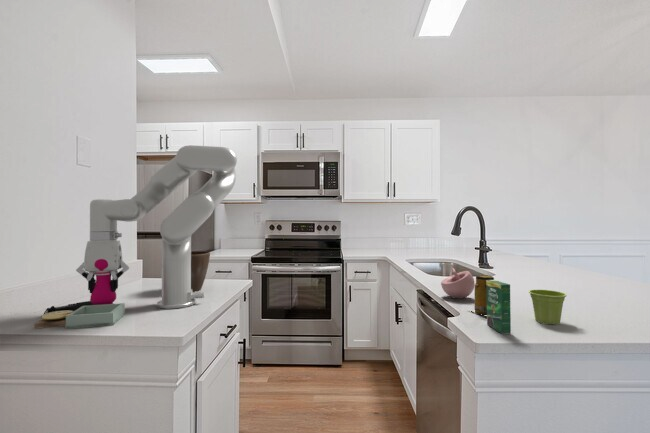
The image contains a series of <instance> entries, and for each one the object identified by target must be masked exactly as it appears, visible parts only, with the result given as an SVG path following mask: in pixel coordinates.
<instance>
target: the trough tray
mask: <svg viewBox="0 0 650 433" xmlns="http://www.w3.org/2000/svg"><path fill="white" fill-rule="evenodd" d="M125 313H126V309H125V302H123V303H113V304H105V305H89V306H82V307H80V308H79V309H77V310H75V311H73V312H72V313H70V314H69V315H67V316H66V326H65V330H69V329H70V330H71V329H82V328H95V327H108V326H109V327H110V326H114V325H115V324H116V323H117V322H118V321H119V320H120V319H121V318H122V317H123V316H124V315H125Z"/></svg>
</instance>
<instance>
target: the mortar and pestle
mask: <svg viewBox="0 0 650 433" xmlns="http://www.w3.org/2000/svg"><path fill="white" fill-rule="evenodd" d="M451 272H452V275H450V276H447V277H445V278H444V279H443V280H441V282H440V285H441V288H442V290H443V291H444V293H445V294H446V295H447V296H449V297H451V298H454V299H457V298H461V299H465V298H467V297H469V296H470V295H471V294H472V293H473V291H474V290H475V289H474V288H475V284H476V282H475V278H474V276H473V275H472V273H471V272H470V271H468V270H463V271H460V272H457V271H456V269H455V268H454V267H452V268H451Z"/></svg>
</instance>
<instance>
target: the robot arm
mask: <svg viewBox="0 0 650 433" xmlns="http://www.w3.org/2000/svg"><path fill="white" fill-rule="evenodd" d="M237 162H238V159H237V155H236V154H235V152H234V151H233V150H232V149H230V148H229V147H224V146H209V145H189V144H188V145H184V146H182V147H181V148H179V149H178V150H177V152H176V155H175V156H174V157H173V158H171V159H170V161H168V162H167V163H166V164H164V165H163V166H162V167H161V168H159V169H158V170H157V171H155V173H153V174H152V176H151V177H150V178H149V181H148V182H147V183H146V185H145V186H144V187H143V188H142V189H141V190H139V191H138V193H136V194H135V195H134V196H133V197H132V198H128V199H127V198H126V199H116V200H115V199H114V200H112V199H99V198H98V199H92V200H91V201H90V203H89V240H88V241H87V243H86V246H85V250H84V259H83V260H84V261H83V262H82V263H81V265H79V266H78V268H76V270H75V271H76V272H77V273H78V274H79V275H81V276H82V277H83V278H85V279H86V281H87V283H88V284H87V290H88V291H89V294H91V293H92V292H93V289H94V287H95V284H96V278H95V277H96V275H95V272H96V271H100V270H99V269H97V268H96V267H95V266H94V264H95V262H96V261H97V260H98V259H105V260H106V261H107V262H108V267H107V268H105V269H104V270H103V271H110V272H111V291H112V292H114V291H115V292H117V290H118V288H119V278H120V277H122V275H124V274H125V273H126V272H127V271H128V270H129V269H130V267H129V266H128V264H126V262H125V261H123V252H122V244H121V241H120V240H118V238H122V236H123V234H122V232H118V221H120V222H125V223H126V222H129V223H130V222H137V221H139V220H141V219H142V218H144V217H145V216H146V215H147V214H148V213H150V212H151V211H152V210H153V209H154V208H156V206H158V205H159V204H160V203H161V202H162V201H164V200H165V199H166V198H168V197H169V196H170V195H171V194H172V193H173V192H174V191H176V190H177V189H178V188H180V186H181V185H182V184H184V183H185V182H186V181H187V180H189V178H191V177H192V176H193V175H195V174H196V173H197V172H198V171H208V172H212V176H211V177H210V178H209V179H208V181H206V182H205V184H203V186H201V187H200V188H199V189H198V190H197V191H196V192H194V193H191V194H190V195H189V196H188V197H186V198H185V199H184V200H183V201H182V202H181V203H180V204H179V205H178V206H177V207H176V208H175V209H174V210H172V212H171V213H170V214H168V215H167V216H166V218H165V219H163V220H162V222H161V224H160V227H159V233H160V236H161V299H160V300H159V301H157V302H156V307H157V308H159V309H165V310H166V309H167V310H169V309H170V310H171V309H180V308H186V307H187V308H188V307H190V306H193V305H195V304H196V299H204V298H205V292H201V291H197V292H192V289H191V251H192V235H193V234H194V233H195V232H196V231H197V230H198V229H199V228H200V227H201V226H202V225H203V224H204V223H205V222H206V221H207V220H208V219H209V218H210V217H211V216H212V214H213V212H214V210H215V209H216V208H217V207H218V206H219V205H220V203H221V202H223V201H224V199H225V198H226V197H227V196H228V195H229V194H230V193H231V192H232V190H233V188H234V186H235V183H236V178H237V177H236V176H237V174H236V169H235V167H236V165H237ZM121 268H122V269H121ZM120 269H121V270H120ZM118 270H119V271H118Z"/></svg>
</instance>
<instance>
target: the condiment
mask: <svg viewBox="0 0 650 433" xmlns="http://www.w3.org/2000/svg"><path fill="white" fill-rule="evenodd" d="M486 280H495V278H494V276H492V275H489V274H488V275H487V274H478V275H476V276H475V285H474V289H473V290H474V294H473V295H474V310H475V313H474V315H479V314H482V315H483V316H482V315H479V316H481V317H486V318H487V316H484V315H487V292H486ZM471 311H472V310H471V309H470V310H468V312H469V313H472V312H471Z"/></svg>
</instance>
